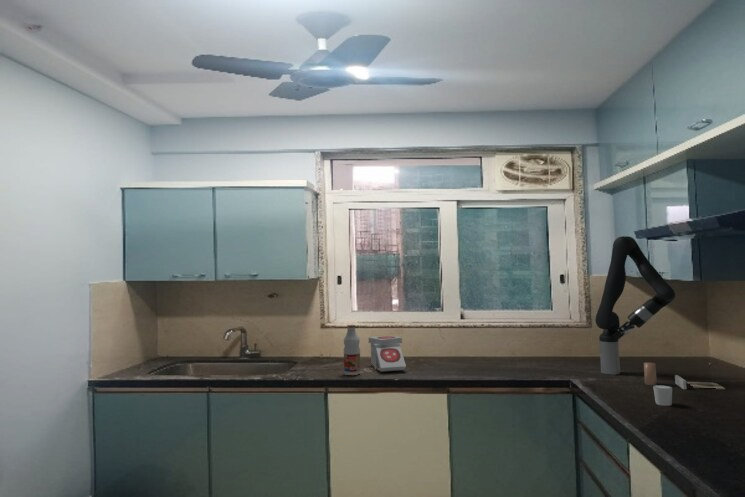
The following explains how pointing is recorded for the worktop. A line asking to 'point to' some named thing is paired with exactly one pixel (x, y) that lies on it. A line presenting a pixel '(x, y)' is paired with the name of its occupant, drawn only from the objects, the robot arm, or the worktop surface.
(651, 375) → the cylinder
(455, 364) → the worktop surface
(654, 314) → the robot arm
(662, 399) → the shot glass
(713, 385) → the pad
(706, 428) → the worktop surface
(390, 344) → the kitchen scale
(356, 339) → the fruit juice
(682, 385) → the wall
